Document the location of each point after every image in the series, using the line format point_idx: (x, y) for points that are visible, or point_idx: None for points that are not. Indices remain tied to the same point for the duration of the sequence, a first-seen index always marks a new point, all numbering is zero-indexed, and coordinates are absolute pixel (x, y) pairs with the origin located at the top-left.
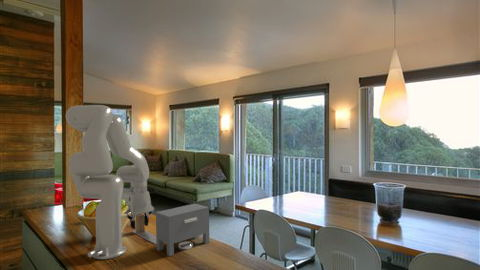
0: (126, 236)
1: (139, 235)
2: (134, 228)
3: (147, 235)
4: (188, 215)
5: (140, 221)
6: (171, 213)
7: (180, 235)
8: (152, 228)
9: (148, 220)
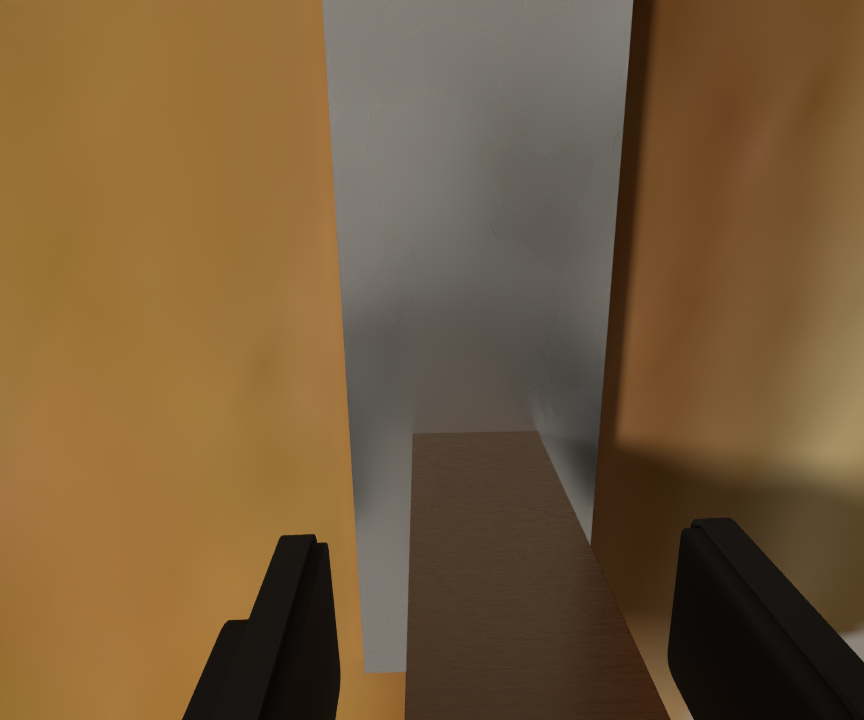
0: (791, 483)
1: (603, 314)
2: (720, 520)
3: (489, 122)
4: None
5: (592, 641)
6: None
7: None
8: (152, 575)
9: (201, 683)
